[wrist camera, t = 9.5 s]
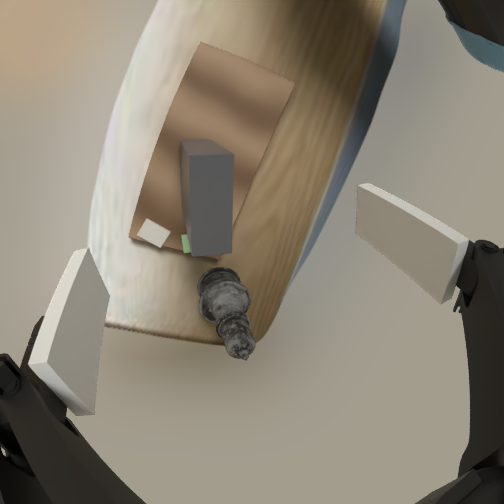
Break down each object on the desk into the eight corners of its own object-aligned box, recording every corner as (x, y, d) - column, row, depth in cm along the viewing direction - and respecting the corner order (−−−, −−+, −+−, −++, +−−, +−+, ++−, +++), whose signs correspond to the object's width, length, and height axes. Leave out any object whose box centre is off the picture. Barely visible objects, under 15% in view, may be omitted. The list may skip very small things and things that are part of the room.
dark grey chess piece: (250, 273, 35) (289, 341, 25) (230, 310, 37) (258, 382, 26) (206, 258, 32) (231, 331, 22) (187, 299, 34) (203, 376, 24)
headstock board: (198, 45, 21) (200, 41, 20) (289, 84, 26) (295, 83, 24) (129, 231, 28) (128, 237, 27) (217, 253, 32) (219, 259, 31)
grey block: (178, 139, 24) (187, 155, 15) (209, 138, 25) (236, 154, 16) (182, 241, 29) (194, 304, 20) (209, 239, 29) (232, 299, 21)
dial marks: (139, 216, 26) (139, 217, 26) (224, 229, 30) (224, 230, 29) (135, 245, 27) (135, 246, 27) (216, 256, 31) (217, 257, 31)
